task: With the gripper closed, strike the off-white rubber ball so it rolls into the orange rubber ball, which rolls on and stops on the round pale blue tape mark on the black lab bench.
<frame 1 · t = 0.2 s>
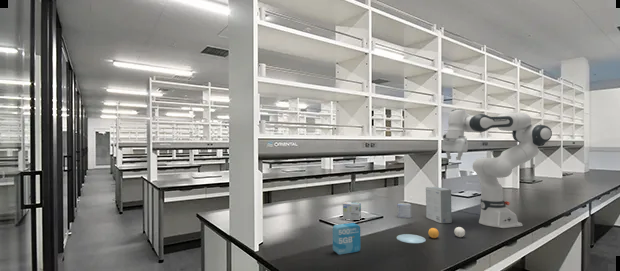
hand: (453, 159, 180), 38 cm above the table, fingers open, 8 cm apart
medicine box: (404, 217, 199), on the table
white ball: (459, 232, 158), on the table
hard drive box: (438, 220, 191), on the table
data package: (346, 252, 138), on the table
blue mark: (410, 238, 155), on the table
light bulb box: (352, 220, 194), on the table
orange ball: (433, 233, 156), on the table
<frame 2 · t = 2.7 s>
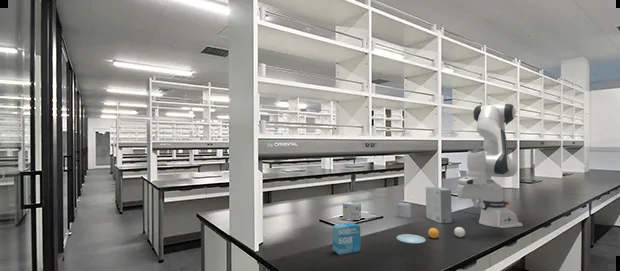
hand: (477, 206, 159), 15 cm above the table, fingers closed
nothing on the table moved.
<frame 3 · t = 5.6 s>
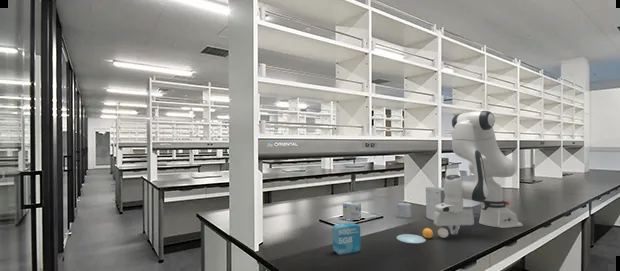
hand: (454, 233, 157), 2 cm above the table, fingers closed
white ball: (443, 232, 157), on the table
orange ball: (427, 233, 156), on the table
everything else where it was.
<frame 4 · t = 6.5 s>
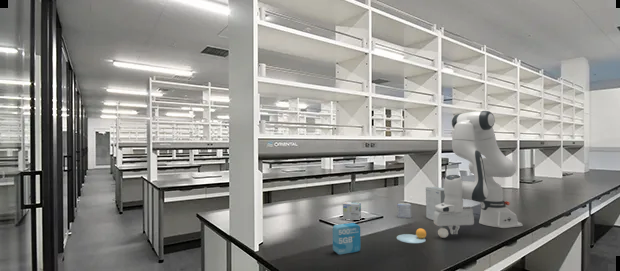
hand: (454, 233, 157), 2 cm above the table, fingers closed
orange ball: (421, 233, 156), on the table
everything else where it was.
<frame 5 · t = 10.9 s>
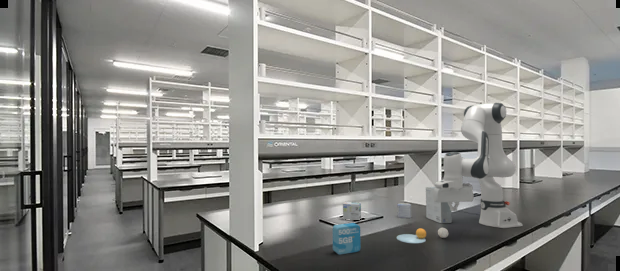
hand: (453, 210, 158), 14 cm above the table, fingers closed
nothing on the table moved.
at the end: orange ball 5.4 cm from the blue mark (horizontally); orange ball never touched the robot; white ball first touched orange ball at 5.3 s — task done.
